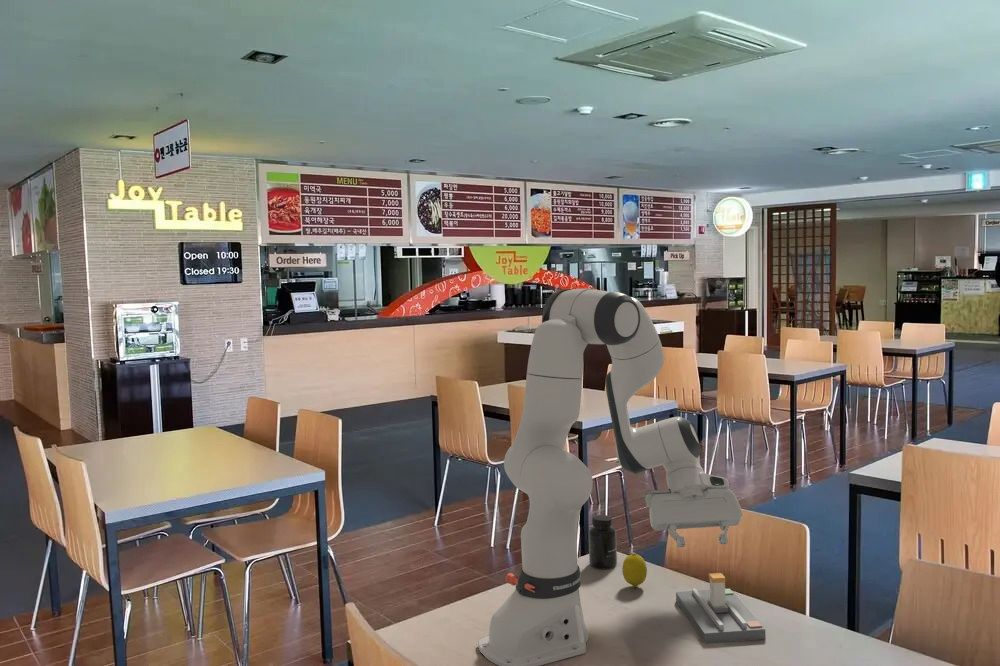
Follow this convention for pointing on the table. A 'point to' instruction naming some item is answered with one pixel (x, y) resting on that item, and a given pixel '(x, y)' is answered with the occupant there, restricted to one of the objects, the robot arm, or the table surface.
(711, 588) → the breaker lever
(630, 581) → the lemon
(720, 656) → the table surface
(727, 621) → the switch panel
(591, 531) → the supplement bottle
